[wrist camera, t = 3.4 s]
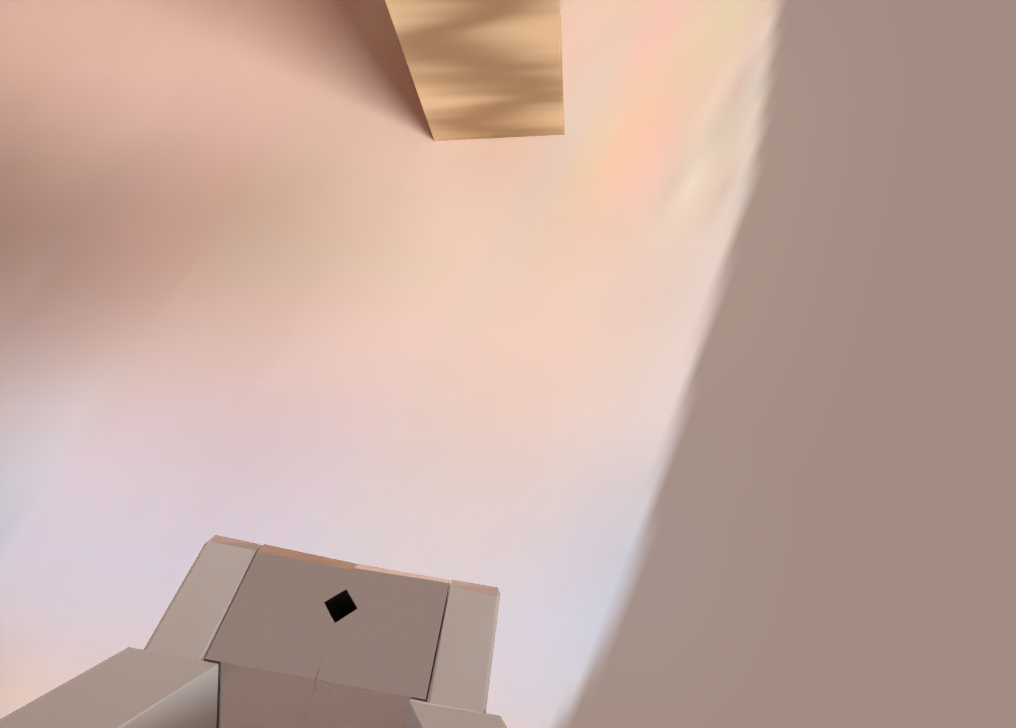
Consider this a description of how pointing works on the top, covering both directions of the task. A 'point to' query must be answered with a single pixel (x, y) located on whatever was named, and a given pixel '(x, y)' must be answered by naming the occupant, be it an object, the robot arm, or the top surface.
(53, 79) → the top surface
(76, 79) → the top surface
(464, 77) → the block
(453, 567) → the top surface
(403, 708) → the robot arm
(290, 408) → the top surface
